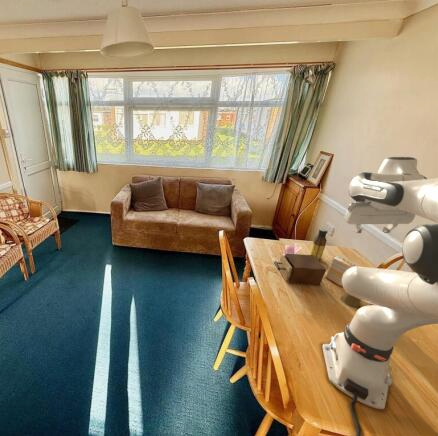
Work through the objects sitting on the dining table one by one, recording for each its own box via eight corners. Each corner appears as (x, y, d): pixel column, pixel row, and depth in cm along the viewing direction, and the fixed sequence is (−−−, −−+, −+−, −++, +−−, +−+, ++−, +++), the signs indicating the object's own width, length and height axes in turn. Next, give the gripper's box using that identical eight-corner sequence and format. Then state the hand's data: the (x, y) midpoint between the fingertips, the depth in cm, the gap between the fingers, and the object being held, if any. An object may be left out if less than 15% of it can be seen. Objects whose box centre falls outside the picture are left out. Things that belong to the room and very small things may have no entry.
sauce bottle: (320, 256, 142) (331, 229, 133) (320, 262, 137) (332, 233, 129) (307, 253, 145) (317, 226, 137) (307, 258, 140) (318, 230, 132)
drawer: (277, 280, 122) (281, 267, 118) (269, 267, 132) (273, 254, 128) (312, 283, 119) (318, 269, 116) (302, 269, 130) (307, 256, 126)
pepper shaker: (362, 307, 105) (372, 289, 101) (347, 305, 107) (356, 287, 102) (354, 298, 111) (363, 280, 106) (340, 296, 112) (348, 278, 107)
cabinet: (289, 283, 121) (295, 267, 116) (280, 268, 132) (285, 253, 127) (319, 285, 119) (326, 269, 114) (307, 270, 130) (313, 255, 126)
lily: (284, 251, 149) (280, 241, 145) (305, 251, 141) (302, 240, 137) (282, 265, 142) (278, 255, 138) (305, 266, 134) (301, 254, 130)
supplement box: (346, 284, 120) (356, 264, 114) (341, 287, 118) (350, 266, 112) (330, 275, 127) (339, 255, 121) (324, 277, 125) (333, 257, 119)
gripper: (355, 205, 83) (344, 236, 90) (425, 203, 78) (409, 236, 85) (346, 198, 89) (336, 228, 95) (411, 196, 84) (396, 227, 90)
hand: (371, 232), depth 90 cm, fingers open, 8 cm apart
